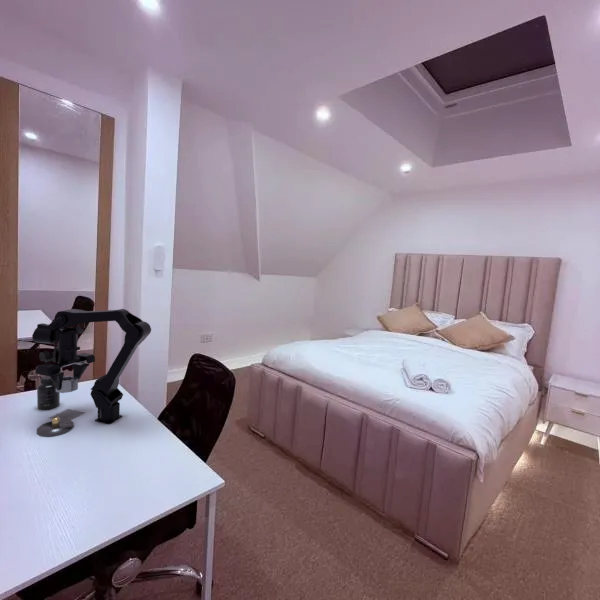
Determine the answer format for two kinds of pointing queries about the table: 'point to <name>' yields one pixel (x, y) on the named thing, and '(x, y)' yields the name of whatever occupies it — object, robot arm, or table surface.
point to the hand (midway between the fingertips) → (67, 386)
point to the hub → (55, 427)
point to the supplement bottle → (47, 394)
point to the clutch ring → (69, 384)
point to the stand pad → (68, 414)
